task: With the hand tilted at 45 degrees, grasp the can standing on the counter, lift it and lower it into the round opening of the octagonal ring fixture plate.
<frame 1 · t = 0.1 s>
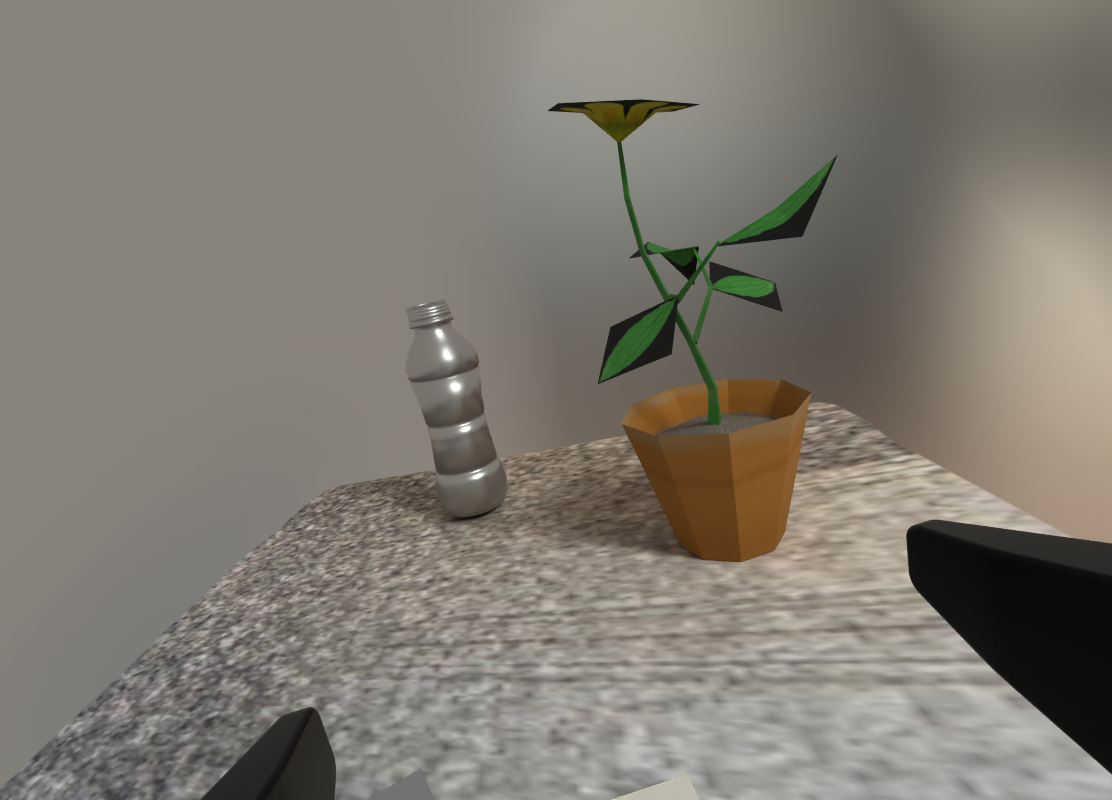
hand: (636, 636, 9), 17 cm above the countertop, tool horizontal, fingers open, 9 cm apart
plastic bottle: (479, 511, 57), on the countertop
potted plant: (734, 537, 43), on the countertop
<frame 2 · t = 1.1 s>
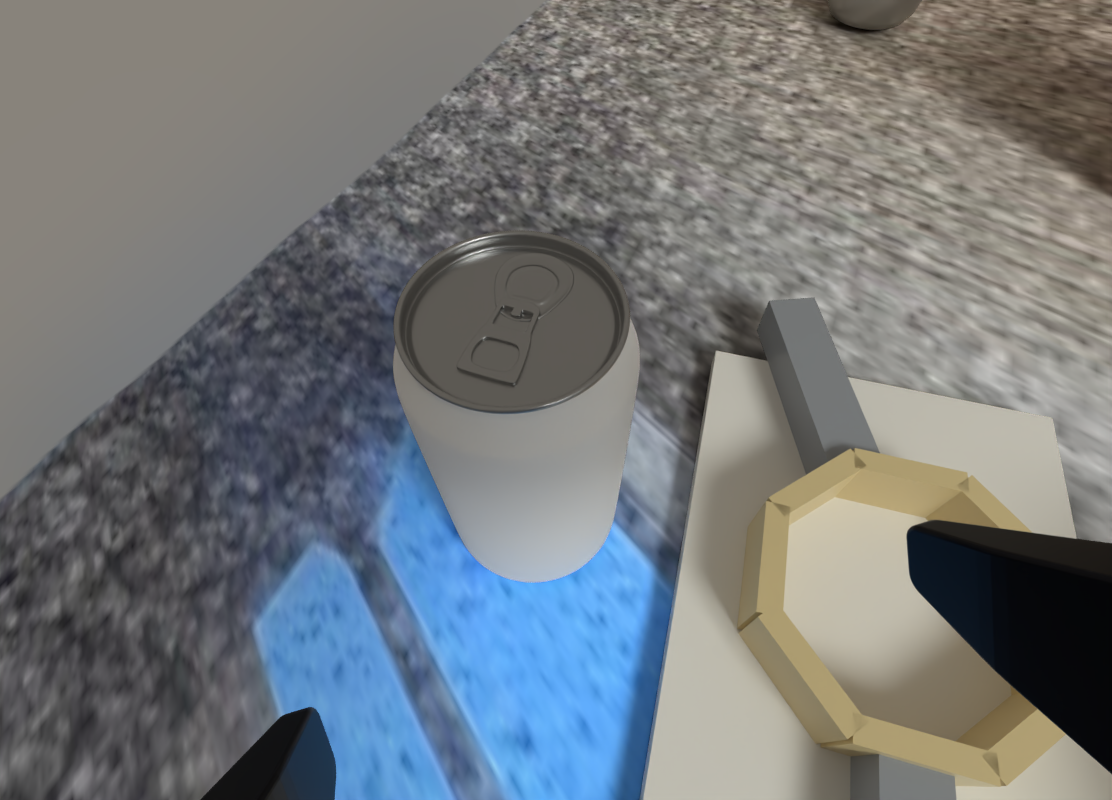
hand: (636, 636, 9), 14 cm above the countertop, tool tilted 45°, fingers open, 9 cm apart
plastic bottle: (863, 23, 45), on the countertop
octagonal ring fixture plate: (869, 617, 22), on the countertop
can: (535, 508, 24), on the countertop
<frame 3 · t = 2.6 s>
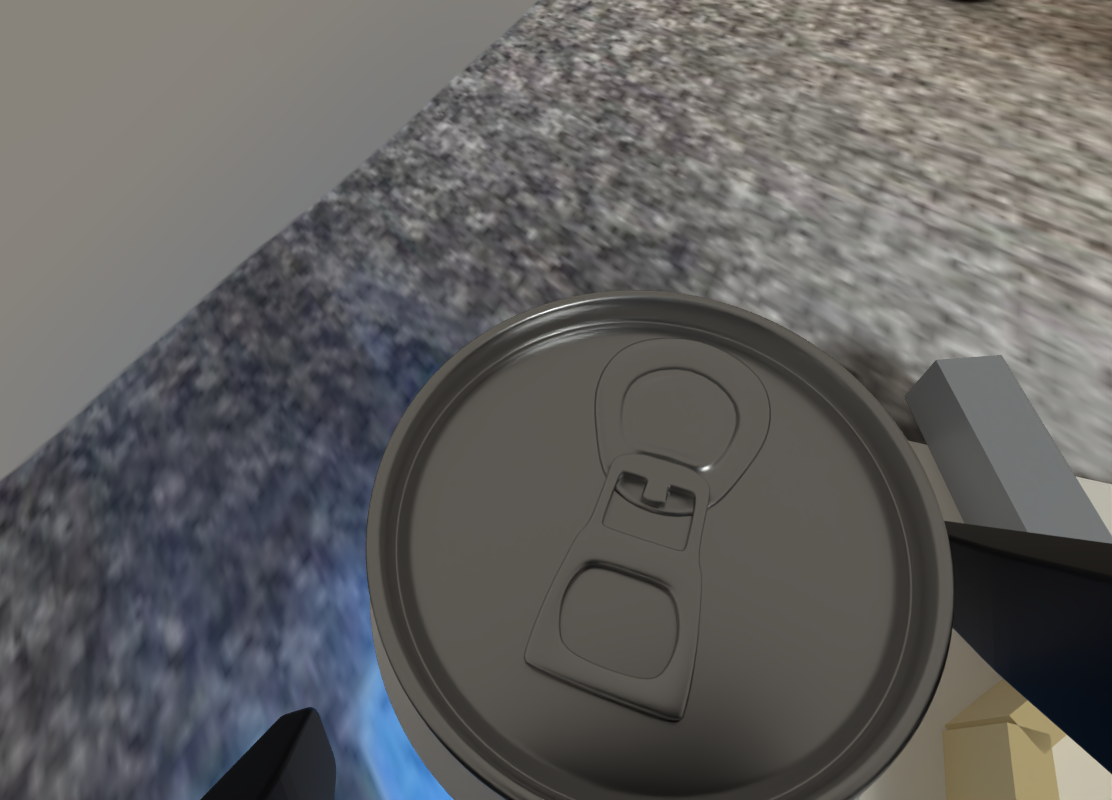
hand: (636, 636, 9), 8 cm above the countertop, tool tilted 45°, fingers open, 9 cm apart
can: (598, 678, 16), on the countertop
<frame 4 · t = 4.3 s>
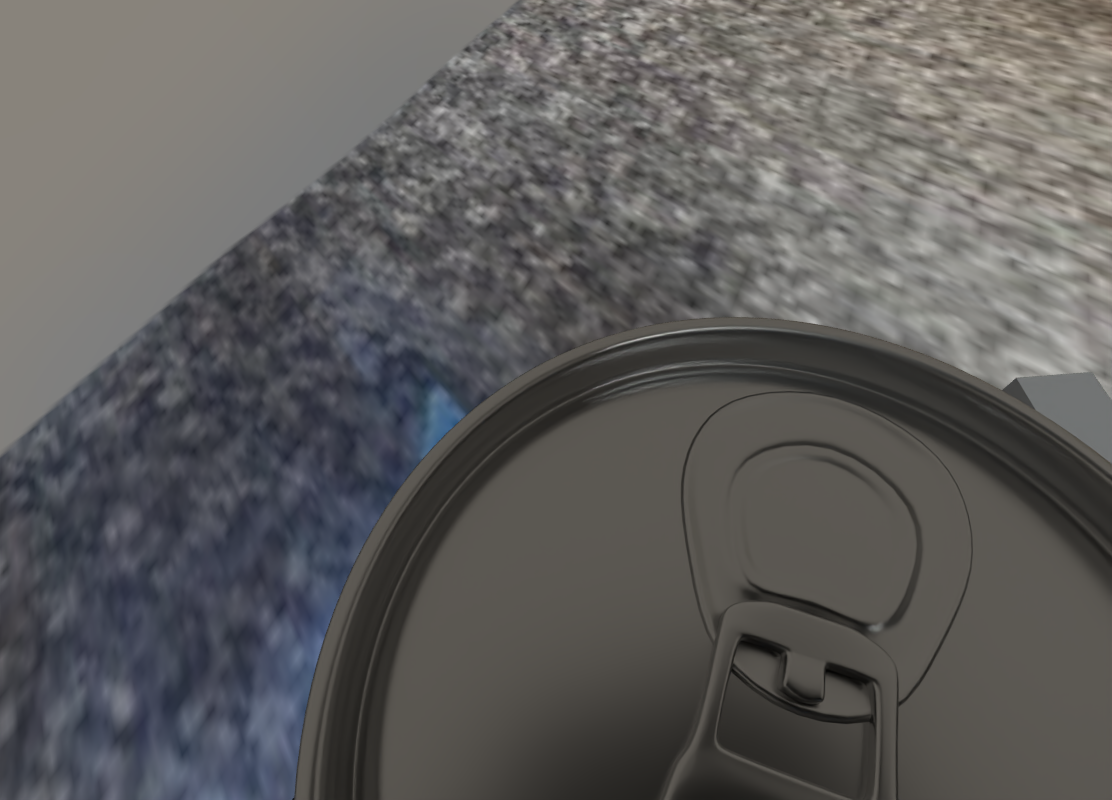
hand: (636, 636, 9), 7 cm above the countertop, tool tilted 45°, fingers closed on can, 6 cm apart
can: (625, 757, 14), on the countertop, touching gripper
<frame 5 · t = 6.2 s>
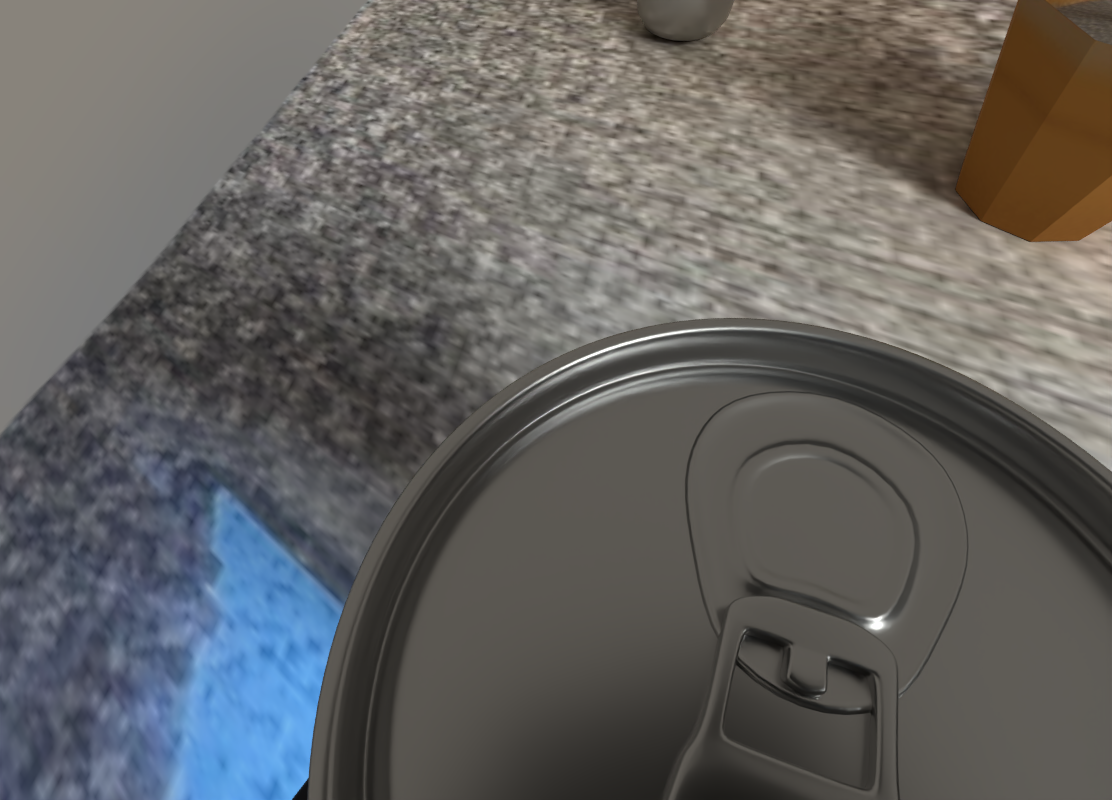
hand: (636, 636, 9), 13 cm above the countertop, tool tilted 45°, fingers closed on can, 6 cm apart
plastic bottle: (679, 32, 42), on the countertop
potted plant: (1027, 200, 33), on the countertop
can: (616, 756, 14), point 6 cm above the countertop, touching gripper
when the fingers open (9 cm above the countertop, at t = 8.6 s): can drops 1 cm, resting on octagonal ring fixture plate.
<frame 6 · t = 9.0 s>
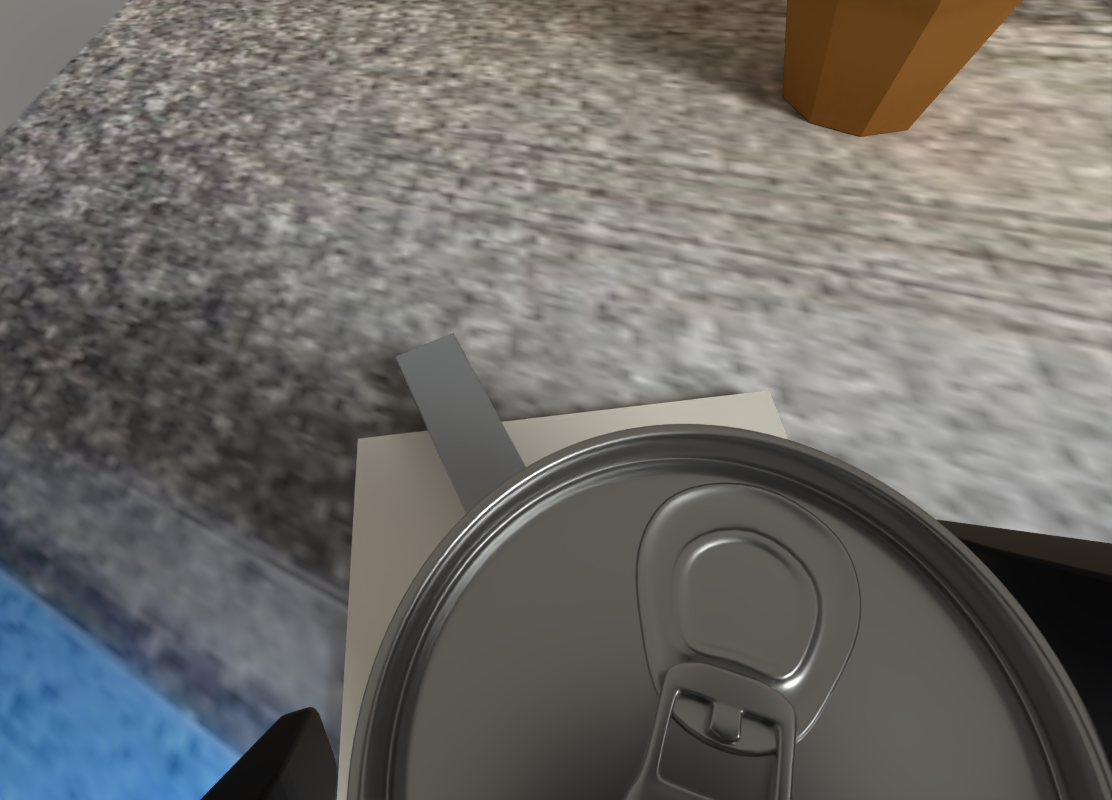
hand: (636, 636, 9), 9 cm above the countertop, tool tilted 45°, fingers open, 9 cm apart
octagonal ring fixture plate: (620, 758, 15), on the countertop
potted plant: (855, 99, 32), on the countertop
can: (616, 770, 15), point 1 cm above the countertop, touching octagonal ring fixture plate
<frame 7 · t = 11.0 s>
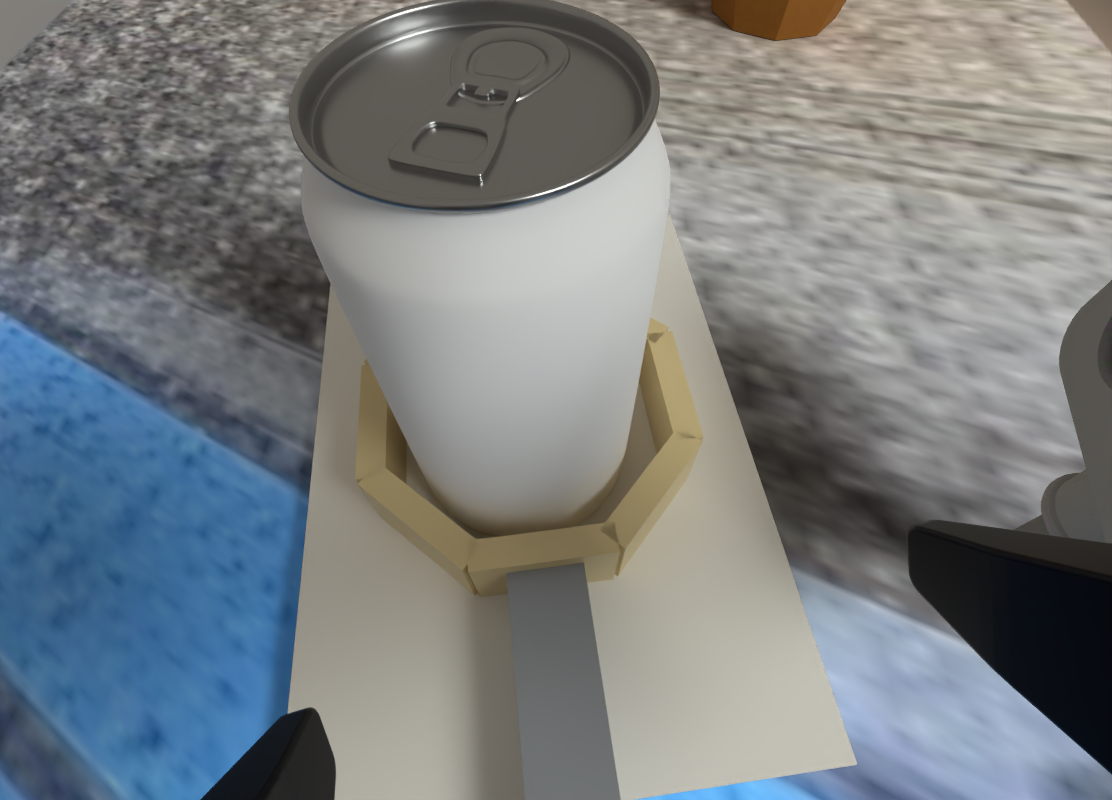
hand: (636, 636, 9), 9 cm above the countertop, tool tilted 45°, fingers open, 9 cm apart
octagonal ring fixture plate: (531, 454, 20), on the countertop
potted plant: (775, 13, 36), on the countertop
can: (524, 450, 19), point 1 cm above the countertop, touching octagonal ring fixture plate
mechanical component: (978, 581, 18), on the countertop
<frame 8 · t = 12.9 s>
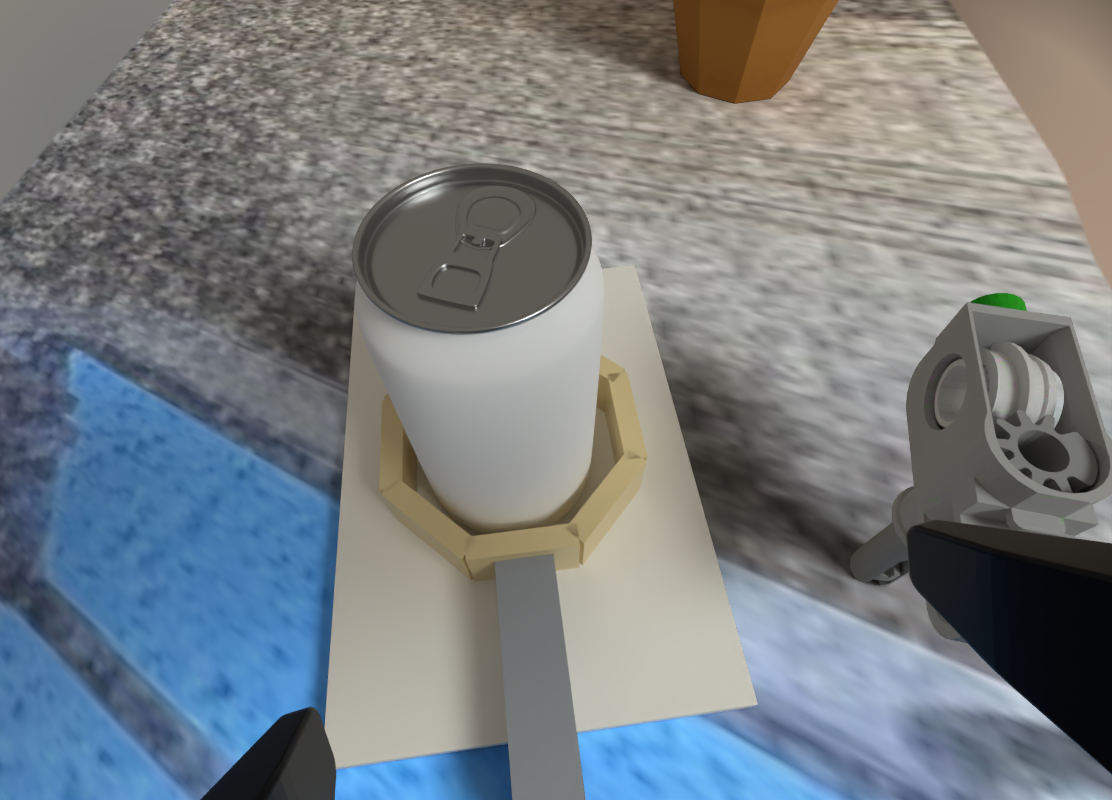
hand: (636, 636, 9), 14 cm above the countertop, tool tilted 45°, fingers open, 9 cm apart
octagonal ring fixture plate: (517, 468, 25), on the countertop
potted plant: (736, 76, 41), on the countertop
can: (511, 466, 24), point 1 cm above the countertop, touching octagonal ring fixture plate
mechanical component: (868, 569, 23), on the countertop
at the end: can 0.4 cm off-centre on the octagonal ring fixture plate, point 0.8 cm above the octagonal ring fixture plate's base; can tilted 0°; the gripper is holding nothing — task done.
